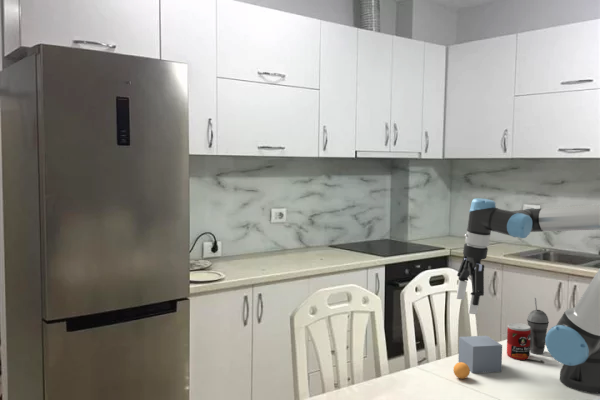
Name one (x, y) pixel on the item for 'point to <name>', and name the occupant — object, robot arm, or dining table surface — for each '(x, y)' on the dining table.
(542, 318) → the beverage cup
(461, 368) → the ball
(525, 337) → the canned food
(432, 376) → the dining table surface
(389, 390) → the dining table surface
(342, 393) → the dining table surface
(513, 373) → the dining table surface
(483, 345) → the slate blue cube
